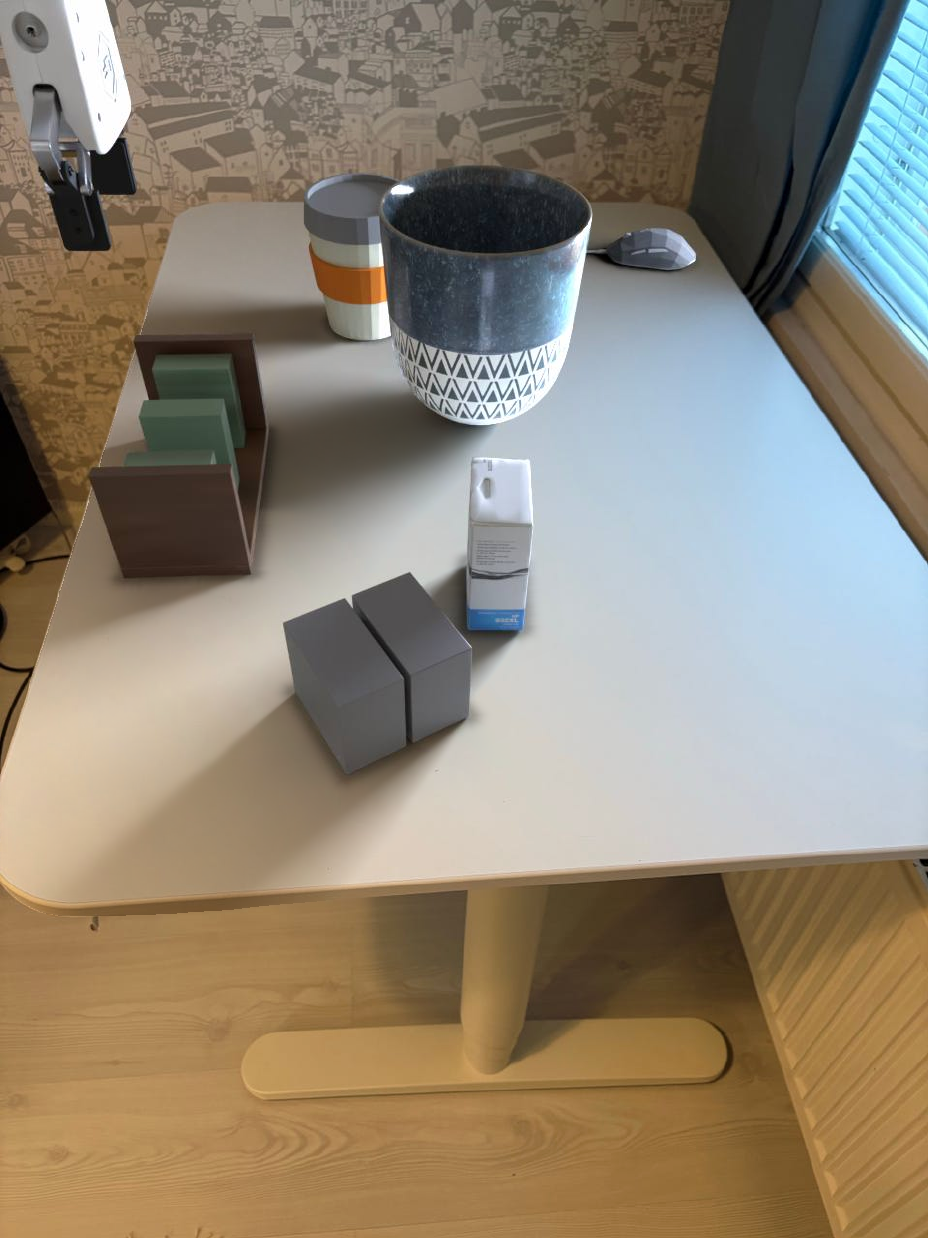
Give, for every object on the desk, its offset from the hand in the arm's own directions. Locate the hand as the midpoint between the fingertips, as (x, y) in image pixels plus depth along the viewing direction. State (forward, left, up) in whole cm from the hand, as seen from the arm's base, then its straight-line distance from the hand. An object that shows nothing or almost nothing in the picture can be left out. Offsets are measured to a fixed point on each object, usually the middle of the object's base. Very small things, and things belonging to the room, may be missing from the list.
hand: (103, 219), depth 68 cm
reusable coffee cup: (+31, +21, -27) cm, 46 cm away
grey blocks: (+5, -32, -27) cm, 42 cm away
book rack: (+2, -1, -27) cm, 27 cm away
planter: (+33, -1, -27) cm, 42 cm away
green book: (+2, -1, -25) cm, 25 cm away
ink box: (+19, -26, -27) cm, 42 cm away
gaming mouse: (+71, +18, -27) cm, 78 cm away
